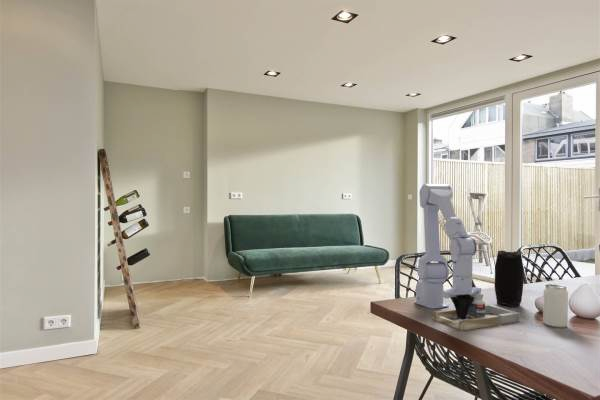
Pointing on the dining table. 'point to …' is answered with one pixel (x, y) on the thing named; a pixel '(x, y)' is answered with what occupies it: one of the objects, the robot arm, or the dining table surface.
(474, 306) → the pill bottle
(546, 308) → the can
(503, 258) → the portable speaker
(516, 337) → the dining table surface
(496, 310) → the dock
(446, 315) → the beige flat u-shaped piece
